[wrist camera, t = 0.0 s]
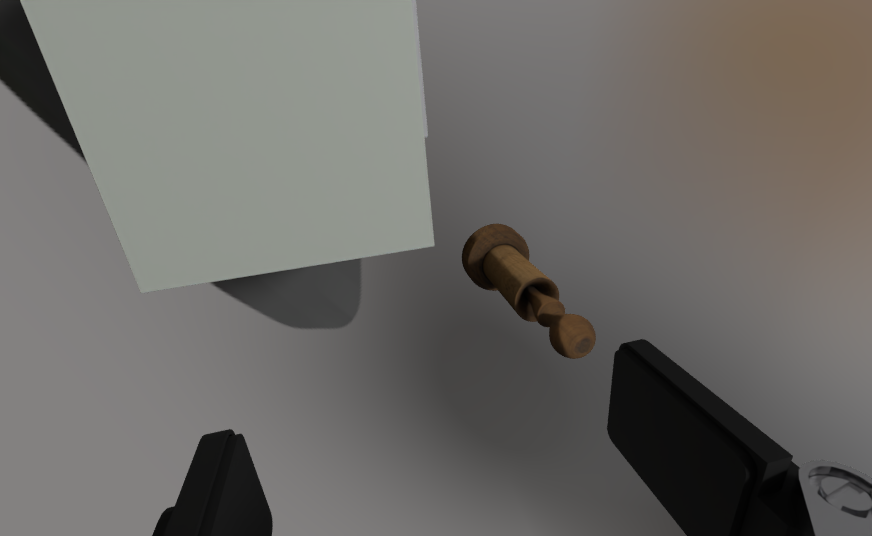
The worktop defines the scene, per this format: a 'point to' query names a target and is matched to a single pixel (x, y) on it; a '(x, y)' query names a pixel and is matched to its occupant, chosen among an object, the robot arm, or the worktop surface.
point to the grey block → (245, 129)
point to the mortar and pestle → (524, 287)
